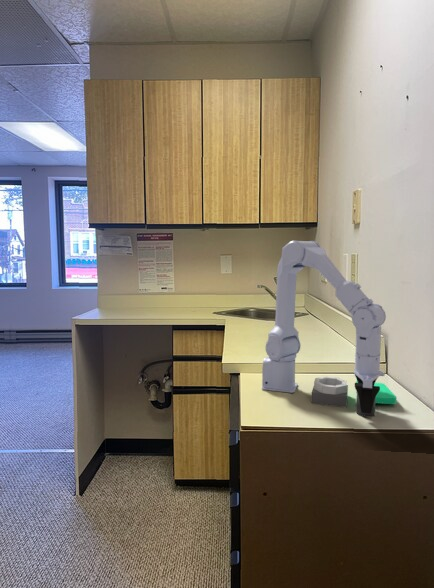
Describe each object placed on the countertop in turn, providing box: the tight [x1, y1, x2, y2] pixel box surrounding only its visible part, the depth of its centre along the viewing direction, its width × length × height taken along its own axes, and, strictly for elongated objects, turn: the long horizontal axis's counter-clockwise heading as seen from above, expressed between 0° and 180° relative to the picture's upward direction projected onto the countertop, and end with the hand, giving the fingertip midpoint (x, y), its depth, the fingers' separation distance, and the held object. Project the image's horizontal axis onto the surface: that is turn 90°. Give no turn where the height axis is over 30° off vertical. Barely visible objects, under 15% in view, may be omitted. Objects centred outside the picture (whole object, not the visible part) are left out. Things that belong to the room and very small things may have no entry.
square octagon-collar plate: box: [311, 376, 349, 408], centre depth 108 cm, size 9×9×5 cm
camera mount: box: [355, 380, 397, 405], centre depth 108 cm, size 12×8×10 cm, turn 174°
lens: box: [355, 390, 376, 418], centre depth 98 cm, size 5×5×6 cm
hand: (365, 406), depth 98 cm, fingers open, 7 cm apart
